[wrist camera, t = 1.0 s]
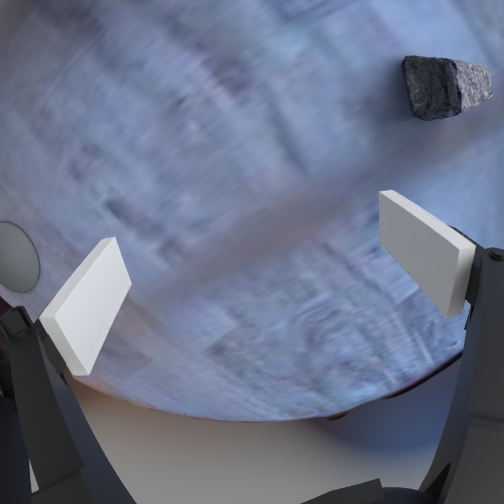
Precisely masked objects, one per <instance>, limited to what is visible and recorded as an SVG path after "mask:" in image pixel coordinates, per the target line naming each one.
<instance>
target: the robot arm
mask: <svg viewBox="0 0 504 504" xmlns="http://www.w3.org/2000/svg"><path fill="white" fill-rule="evenodd" d="M379 243H380V244H381V245H382V246H383V247H384V248H385V249H386V250H387V251H388V252H389V253H390V254H391V256H392V257H393V258H394V259H395V260H396V261H397V262H398V263H399V264H400V265H401V266H402V267H403V269H404V270H405V271H406V272H407V273H408V274H409V275H410V276H411V277H412V279H413V280H414V281H415V282H416V283H417V284H418V285H419V287H420V288H421V289H422V290H423V291H424V292H425V293H426V295H427V296H428V297H429V298H430V299H431V300H432V302H433V303H434V304H435V305H436V306H437V308H438V309H439V310H440V311H441V312H442V314H443V315H444V316H445V317H446V318H449V317H452V316H455V315H458V314H461V313H462V311H463V307H464V303H465V299H466V300H467V301H468V302H469V303H470V304H471V307H470V311H469V314H468V318H467V321H466V325H465V328H464V330H466V337H465V343H464V349H463V354H462V360H461V365H460V370H459V374H458V379H457V383H456V387H455V392H454V396H453V399H452V403H451V407H450V410H449V414H448V417H447V421H446V424H445V427H444V430H443V434H442V437H441V440H440V443H439V445H438V448H437V451H436V454H435V457H434V459H433V462H432V465H431V467H430V469H429V472H428V473H427V475H426V477H425V479H424V480H423V482H422V484H421V486H420V488H419V490H414V489H408V488H400V487H396V488H395V487H385V488H382V486H381V482H380V480H379V478H378V479H375V480H371V481H368V482H365V483H361V484H357V485H353V486H350V487H345V488H341V489H337V490H333V491H330V492H327V493H325V494H323V495H321V496H318V497H316V498H314V499H311V500H309V501H306V502H304V503H301V504H504V250H503V249H499V248H492V247H491V248H486V249H484V248H483V247H481V246H480V245H479V244H477V243H476V242H475V241H473V240H472V239H469V237H468V236H466V235H465V234H463V233H462V232H460V231H459V230H458V229H456V228H454V227H451V226H449V225H446V224H445V223H443V222H442V221H440V220H439V219H437V218H436V217H434V216H433V215H431V214H430V213H428V212H427V211H425V210H424V209H422V208H421V207H419V206H418V205H416V204H414V203H413V202H411V201H410V200H408V199H406V198H405V197H403V196H402V195H400V194H398V193H397V192H395V191H393V190H387V191H379ZM131 284H132V283H131V281H130V278H129V275H128V273H127V270H126V267H125V264H124V262H123V259H122V256H121V253H120V250H119V247H118V244H117V241H116V238H115V237H110V238H105V239H102V240H101V241H100V242H99V243H98V244H97V246H96V247H95V248H94V249H93V250H92V251H91V252H90V254H89V255H88V256H87V257H86V258H85V260H84V261H83V262H82V263H81V264H80V266H79V267H78V268H77V269H76V270H75V272H74V273H73V274H72V275H71V276H70V278H69V279H68V280H67V281H66V283H65V284H64V285H63V287H62V288H61V289H60V290H59V292H58V293H57V294H56V295H55V296H54V297H53V299H52V300H51V301H50V303H49V304H48V305H47V307H46V308H45V310H44V311H43V312H42V313H41V315H40V316H39V317H38V319H37V320H36V322H35V323H34V324H33V322H32V320H31V319H30V317H29V315H28V313H27V311H26V309H25V308H24V306H16V307H14V308H11V309H10V310H8V311H7V312H5V313H4V314H3V315H2V316H1V317H0V329H1V331H2V333H3V334H4V336H5V338H6V339H7V341H8V344H7V345H4V346H0V393H1V395H0V504H136V502H135V501H134V499H133V498H132V496H131V495H130V494H129V492H128V491H127V489H126V488H125V486H124V485H123V483H122V482H121V480H120V479H119V477H118V475H117V474H116V472H115V471H114V469H113V467H112V466H111V464H110V463H109V461H108V459H107V457H106V456H105V454H104V452H103V450H102V449H101V447H100V445H99V443H98V441H97V440H96V438H95V436H94V434H93V432H92V430H91V428H90V426H89V424H88V422H87V420H86V418H85V416H84V414H83V412H82V410H81V408H80V406H79V404H78V401H77V399H76V397H75V395H74V393H73V390H72V388H71V386H70V383H69V381H68V379H67V377H66V375H65V374H64V373H63V369H64V367H65V365H67V366H68V368H69V369H70V371H71V372H72V374H73V375H89V374H90V372H91V370H92V367H93V365H94V363H95V360H96V358H97V356H98V354H99V351H100V349H101V347H102V345H103V342H104V340H105V338H106V336H107V334H108V331H109V329H110V327H111V325H112V323H113V321H114V319H115V317H116V315H117V312H118V310H119V308H120V306H121V304H122V302H123V300H124V298H125V296H126V294H127V292H128V290H129V288H130V286H131ZM29 459H30V462H31V465H32V469H33V472H34V475H35V478H36V481H37V484H38V487H39V490H38V491H36V492H34V493H32V491H31V482H30V469H29Z"/></svg>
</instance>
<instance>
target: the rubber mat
mask: <svg viewBox="0 0 504 504" xmlns="http://www.w3.org/2000/svg"><path fill="white" fill-rule="evenodd" d="M39 275H40V262H39V257H38V254H37V251H36V249H35V246H34V244H33V243H32V241H31V239H30V238H29V236H28V235H27V234H26V233H25V232H24V231H23V230H22V229H21V228H20V227H18V226H17V225H15V224H13V223H10V222H0V282H1V283H2V284H3V285H4V286H6V287H7V288H9V289H11V290H13V291H15V292H27V291H29V290H31V289H32V288H33V287H34V286H35V284H36V283H37V281H38V279H39Z"/></svg>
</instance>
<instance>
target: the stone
mask: <svg viewBox="0 0 504 504" xmlns="http://www.w3.org/2000/svg"><path fill="white" fill-rule="evenodd" d="M415 64H416V65H418V67H417V66H415ZM403 70H404V73H405V76H404V78H405V82H406V85H407V90H408V95H409V99H410V104H411V105H410V106H411V111H412V112H413V114H414V116H415V117H417V118H420V119H421V120H425V121H430V120H434V119H443V118H447V117H451V116H456V115H458V114H459V113H462V112H464V111H467V110H468V109H469V108H471V107H476V106H477V105H478V104H479V103H481V102H483V101H486V100H489V99H490V98H491V97H492V92H491V89H490V71H489V69H488V68H487V67H485V66H482V65H480V64H472V63H467V62H462V61H459V60H452V59H447V58H436V57H434V58H431V57H424V56H415V55H413V56H405V59H404V60H403ZM445 85H448V87H445ZM419 110H420V111H419Z"/></svg>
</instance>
